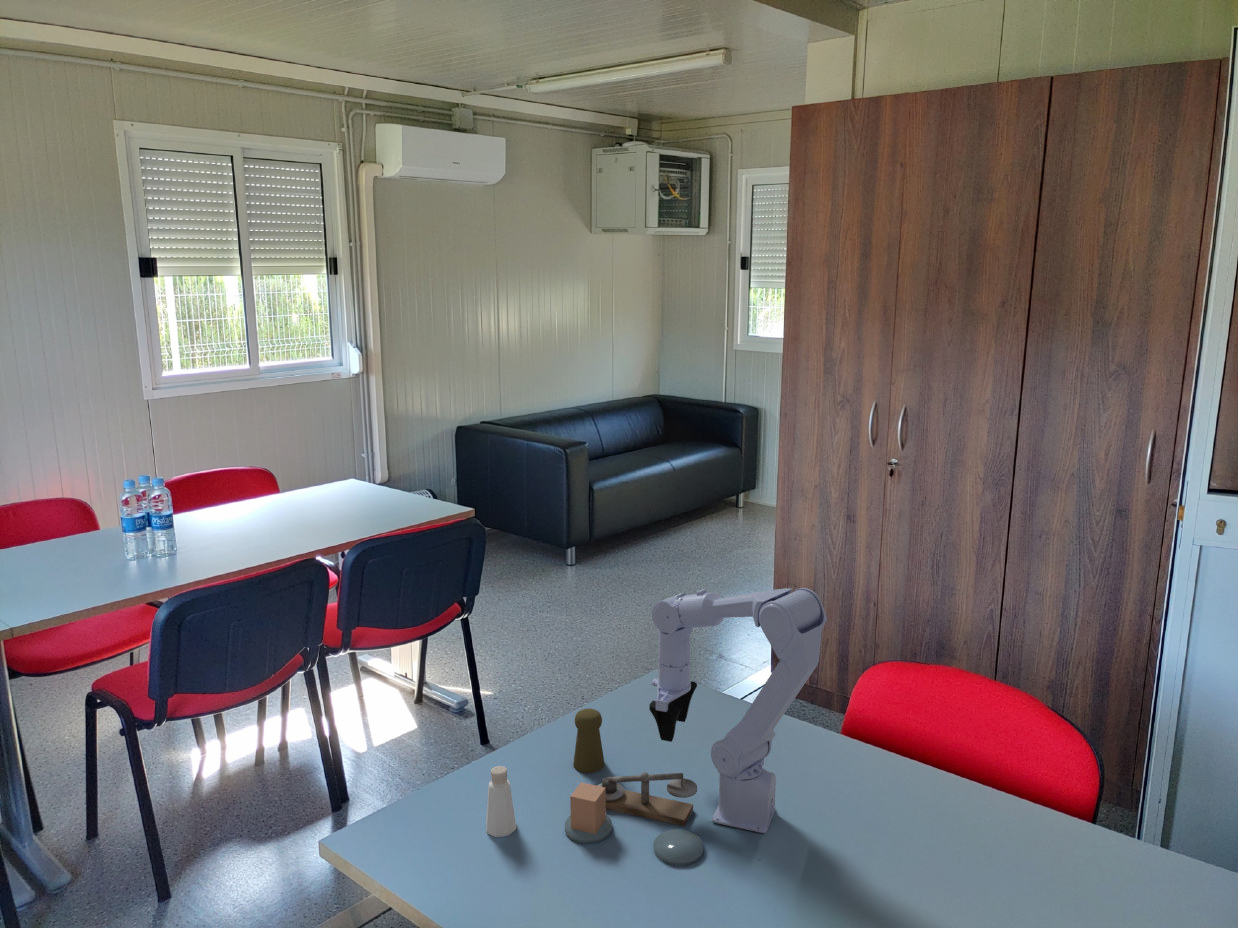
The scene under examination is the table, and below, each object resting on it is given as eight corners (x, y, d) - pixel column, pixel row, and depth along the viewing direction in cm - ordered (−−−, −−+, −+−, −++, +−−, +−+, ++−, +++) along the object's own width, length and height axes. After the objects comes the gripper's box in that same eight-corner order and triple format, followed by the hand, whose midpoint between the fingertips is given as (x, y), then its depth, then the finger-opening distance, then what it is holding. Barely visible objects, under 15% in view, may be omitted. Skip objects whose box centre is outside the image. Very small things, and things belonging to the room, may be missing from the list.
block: (605, 819, 158) (605, 787, 157) (595, 833, 154) (595, 801, 153) (581, 813, 160) (581, 782, 158) (570, 828, 155) (570, 796, 154)
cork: (604, 773, 174) (603, 719, 172) (572, 772, 174) (571, 719, 172) (605, 756, 180) (604, 704, 178) (574, 756, 180) (573, 704, 178)
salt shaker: (511, 839, 154) (509, 779, 152) (480, 835, 155) (477, 776, 153) (521, 820, 159) (519, 762, 157) (491, 816, 160) (488, 759, 158)
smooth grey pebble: (708, 840, 153) (708, 835, 153) (694, 869, 146) (694, 864, 146) (663, 830, 156) (663, 825, 156) (647, 858, 149) (647, 853, 149)
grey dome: (618, 820, 159) (618, 815, 159) (601, 847, 152) (601, 842, 152) (576, 811, 162) (576, 806, 162) (557, 837, 155) (556, 831, 154)
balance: (700, 811, 162) (701, 768, 160) (691, 828, 157) (692, 784, 155) (601, 790, 168) (601, 748, 167) (590, 805, 164) (589, 763, 162)
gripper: (665, 642, 174) (665, 708, 177) (639, 673, 161) (639, 744, 164) (702, 647, 171) (700, 714, 174) (678, 680, 158) (677, 752, 161)
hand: (673, 729), depth 169 cm, fingers open, 7 cm apart
